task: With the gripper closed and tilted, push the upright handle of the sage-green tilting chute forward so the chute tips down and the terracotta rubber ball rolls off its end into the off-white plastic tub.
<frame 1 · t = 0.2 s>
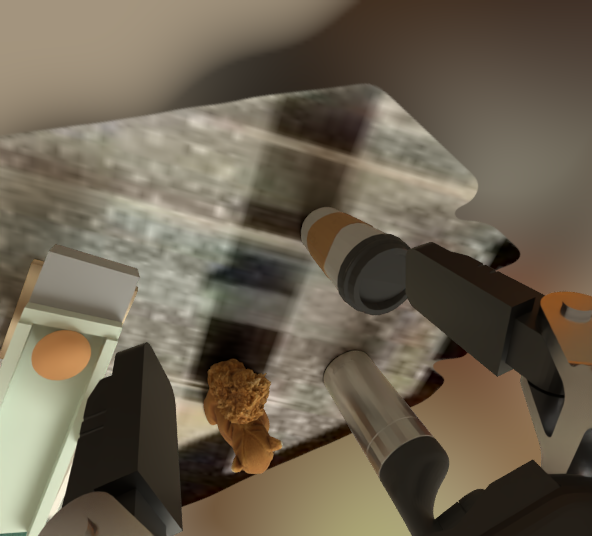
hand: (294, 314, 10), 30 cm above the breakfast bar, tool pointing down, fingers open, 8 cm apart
ball: (62, 354, 25), point 14 cm above the breakfast bar, tilted 32°, touching tilting chute
cupcake: (15, 532, 49), on the breakfast bar
stuffed squirrel: (231, 379, 51), on the breakfast bar
fulcrum stand: (71, 318, 38), on the breakfast bar
coffee cup: (320, 228, 44), on the breakfast bar
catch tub: (21, 442, 42), on the breakfast bar
tilting chute: (46, 435, 23), point 17 cm above the breakfast bar, hinge at -15.1°, touching ball
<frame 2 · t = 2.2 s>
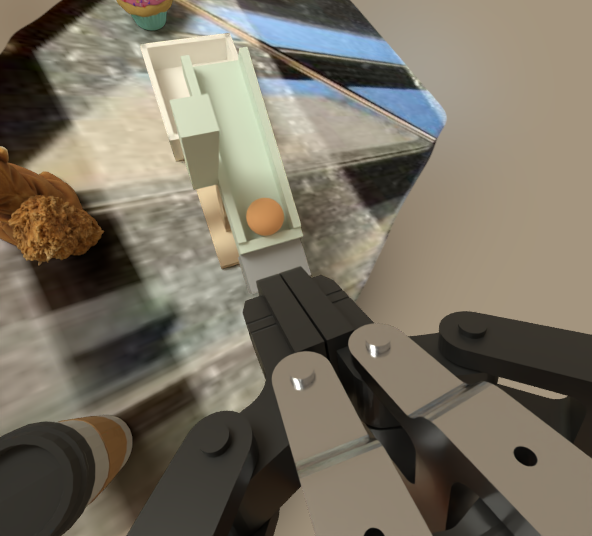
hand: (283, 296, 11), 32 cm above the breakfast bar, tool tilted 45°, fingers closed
ball: (265, 216, 32), point 14 cm above the breakfast bar, tilted 32°, touching tilting chute
cupcake: (152, 21, 54), on the breakfast bar
stuffed squirrel: (61, 229, 43), on the breakfast bar
fulcrum stand: (244, 219, 47), on the breakfast bar
coffee cup: (103, 445, 37), on the breakfast bar
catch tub: (205, 106, 51), on the breakfast bar
tilting chute: (244, 161, 29), point 17 cm above the breakfast bar, hinge at -15.1°, touching ball
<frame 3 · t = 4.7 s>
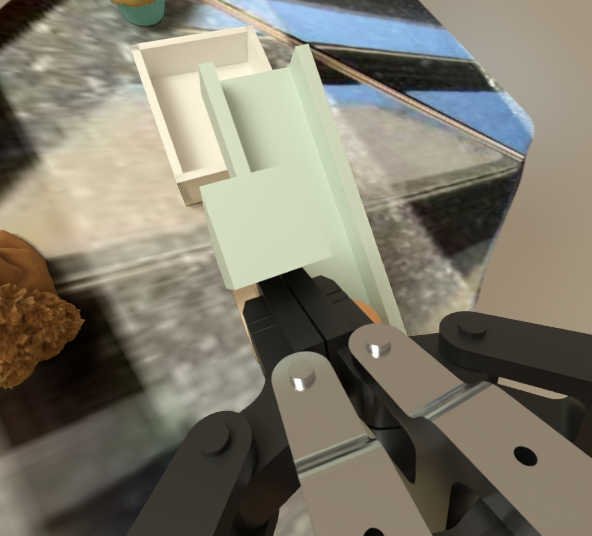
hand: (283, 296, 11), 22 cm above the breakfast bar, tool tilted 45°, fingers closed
cupcake: (145, 13, 41), on the breakfast bar
stuffed squirrel: (24, 313, 30), on the breakfast bar
fulcrum stand: (283, 285, 33), on the breakfast bar
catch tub: (221, 127, 38), on the breakfast bar
tilting chute: (323, 251, 16), point 18 cm above the breakfast bar, hinge at -13.9°, touching ball
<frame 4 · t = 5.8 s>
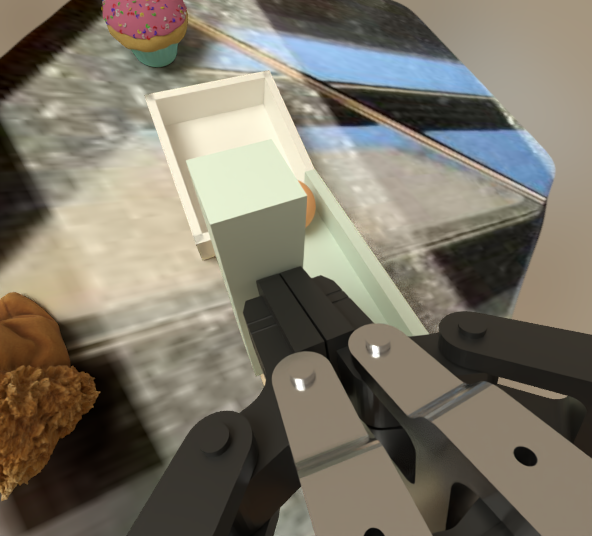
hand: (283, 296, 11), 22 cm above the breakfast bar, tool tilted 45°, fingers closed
ball: (288, 206, 22), point 13 cm above the breakfast bar, tilted 73°, touching tilting chute
cupcake: (157, 53, 40), on the breakfast bar
stuffed squirrel: (36, 380, 28), on the breakfast bar
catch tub: (237, 174, 36), on the breakfast bar
tilting chute: (346, 303, 15), point 18 cm above the breakfast bar, hinge at 18.4°, touching ball, gripper
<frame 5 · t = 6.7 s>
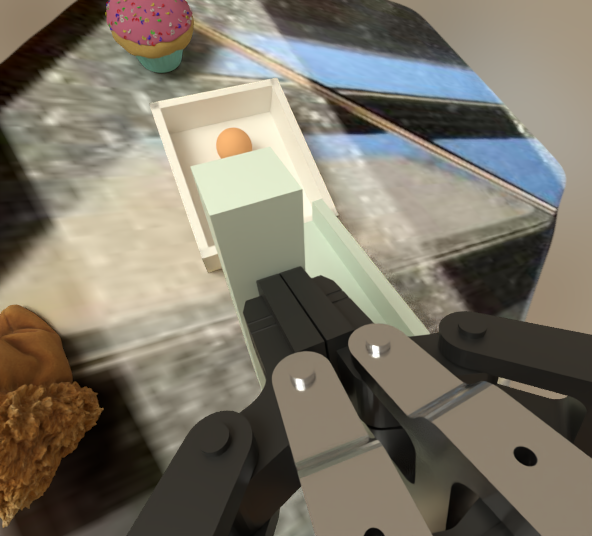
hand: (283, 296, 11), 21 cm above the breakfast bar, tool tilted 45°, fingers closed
ball: (234, 146, 34), point 3 cm above the breakfast bar, tilted 87°, touching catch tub
cupcake: (162, 59, 39), on the breakfast bar
stuffed squirrel: (38, 395, 28), on the breakfast bar
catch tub: (243, 183, 36), on the breakfast bar
tilting chute: (354, 318, 15), point 18 cm above the breakfast bar, hinge at 27.4°, touching gripper
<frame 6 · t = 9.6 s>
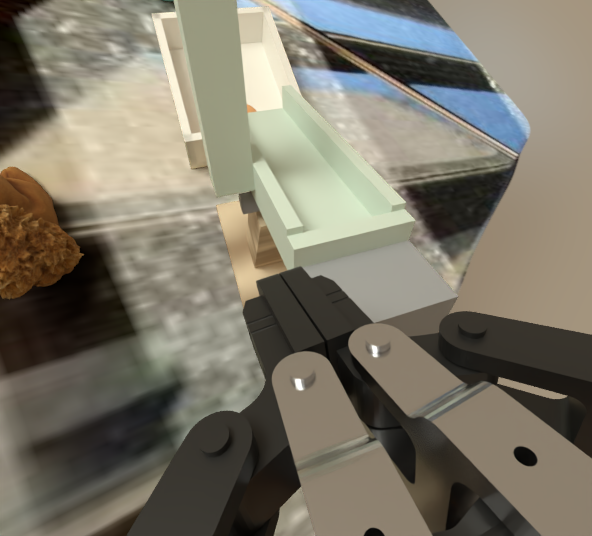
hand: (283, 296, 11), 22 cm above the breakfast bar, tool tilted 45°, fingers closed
stuffed squirrel: (27, 245, 31), on the breakfast bar
fulcrum stand: (278, 250, 35), on the breakfast bar
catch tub: (231, 100, 39), on the breakfast bar
tilting chute: (289, 114, 18), point 18 cm above the breakfast bar, hinge at 27.6°
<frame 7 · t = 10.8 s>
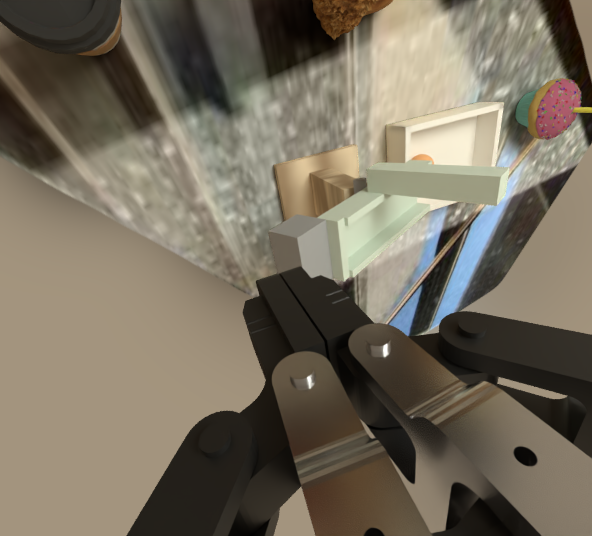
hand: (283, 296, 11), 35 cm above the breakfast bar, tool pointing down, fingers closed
ball: (421, 166, 49), point 3 cm above the breakfast bar, tilted 53°, touching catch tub
cupcake: (524, 109, 55), on the breakfast bar
fulcrum stand: (319, 189, 48), on the breakfast bar
coffee cup: (85, 17, 32), on the breakfast bar
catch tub: (432, 157, 52), on the breakfast bar
tilting chute: (407, 218, 33), point 18 cm above the breakfast bar, hinge at 27.6°
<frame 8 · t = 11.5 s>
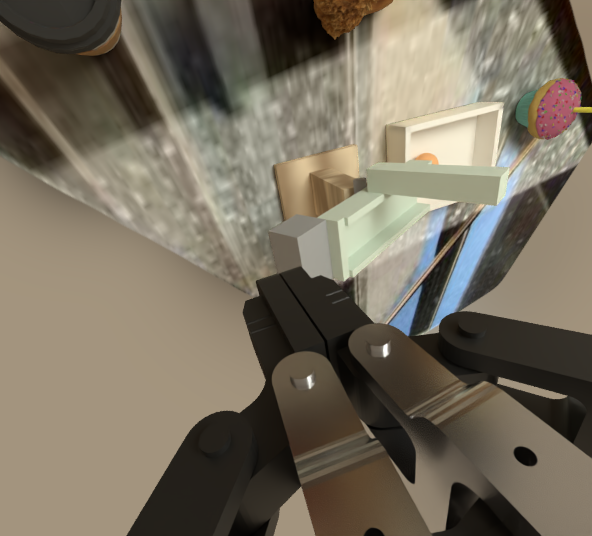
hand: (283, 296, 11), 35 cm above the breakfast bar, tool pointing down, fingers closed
ball: (425, 165, 50), point 3 cm above the breakfast bar, tilted 78°, touching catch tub
cupcake: (524, 109, 55), on the breakfast bar
fulcrum stand: (319, 189, 48), on the breakfast bar
coffee cup: (85, 17, 32), on the breakfast bar
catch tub: (432, 157, 52), on the breakfast bar
tilting chute: (407, 218, 33), point 18 cm above the breakfast bar, hinge at 27.6°
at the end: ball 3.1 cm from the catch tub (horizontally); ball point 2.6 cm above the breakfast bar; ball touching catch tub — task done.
